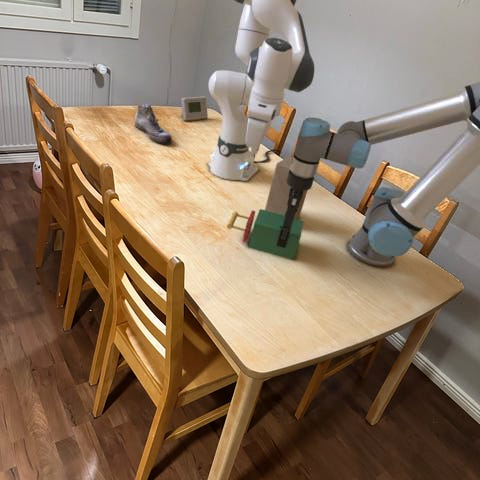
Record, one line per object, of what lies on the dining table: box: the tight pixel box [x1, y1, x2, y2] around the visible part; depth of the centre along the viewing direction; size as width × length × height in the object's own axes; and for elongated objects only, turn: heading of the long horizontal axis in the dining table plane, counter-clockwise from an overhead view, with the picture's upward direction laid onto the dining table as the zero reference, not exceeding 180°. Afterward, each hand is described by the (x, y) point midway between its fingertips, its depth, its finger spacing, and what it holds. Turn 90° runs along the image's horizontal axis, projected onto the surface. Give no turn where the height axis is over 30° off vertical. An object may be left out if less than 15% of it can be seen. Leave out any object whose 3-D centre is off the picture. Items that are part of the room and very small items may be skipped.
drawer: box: [226, 210, 256, 243], centre depth 138 cm, size 19×9×7 cm, turn 78°
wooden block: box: [264, 156, 309, 219], centre depth 151 cm, size 10×10×20 cm
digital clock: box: [180, 95, 209, 122], centre depth 224 cm, size 16×9×11 cm, turn 123°
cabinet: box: [248, 208, 305, 260], centre depth 137 cm, size 14×10×9 cm
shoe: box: [134, 102, 172, 145], centre depth 194 cm, size 25×11×12 cm, turn 30°
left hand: (254, 152), depth 126 cm, fingers closed
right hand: (283, 237), depth 138 cm, fingers closed on cabinet, 10 cm apart
